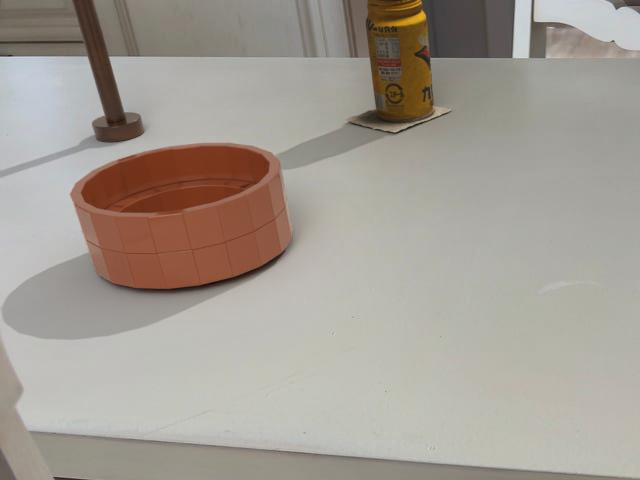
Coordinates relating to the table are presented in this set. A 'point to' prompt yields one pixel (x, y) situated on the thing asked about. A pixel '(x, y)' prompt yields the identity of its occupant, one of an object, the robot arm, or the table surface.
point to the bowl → (183, 214)
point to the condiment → (398, 66)
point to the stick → (104, 80)
